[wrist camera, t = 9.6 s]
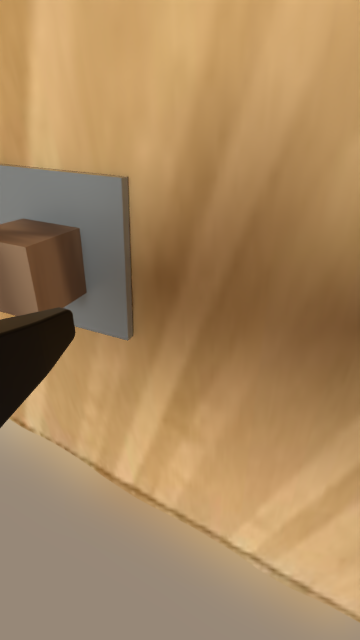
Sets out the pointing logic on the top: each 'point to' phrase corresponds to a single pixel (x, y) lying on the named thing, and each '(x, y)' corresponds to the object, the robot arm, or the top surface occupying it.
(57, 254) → the walnut block
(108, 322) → the plate
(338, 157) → the top surface
